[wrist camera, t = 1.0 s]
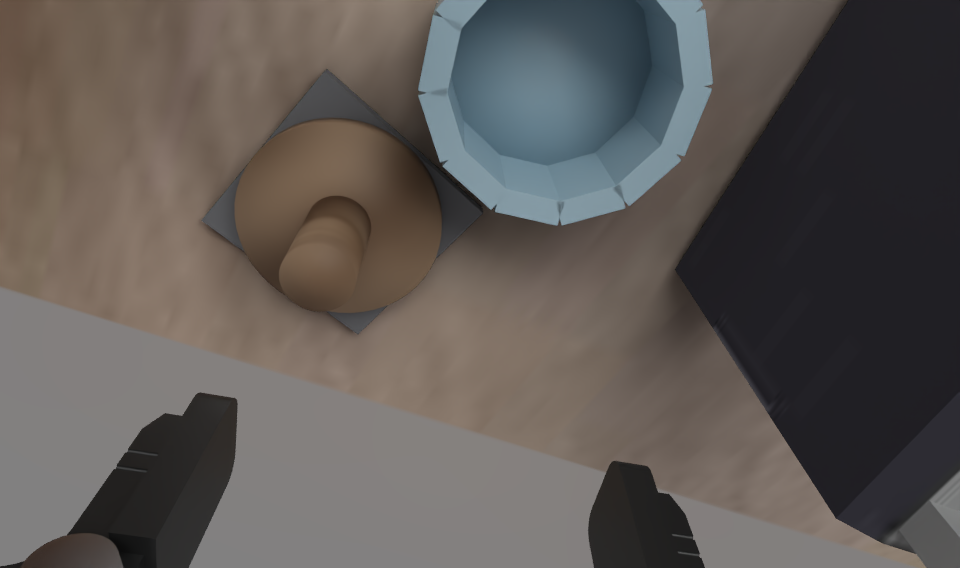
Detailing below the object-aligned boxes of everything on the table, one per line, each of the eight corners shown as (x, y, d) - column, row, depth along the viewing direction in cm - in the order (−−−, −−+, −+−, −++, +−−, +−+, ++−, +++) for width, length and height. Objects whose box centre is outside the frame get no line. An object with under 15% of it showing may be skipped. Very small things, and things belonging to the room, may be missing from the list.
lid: (201, 220, 29) (144, 284, 24) (324, 71, 26) (290, 106, 21) (357, 334, 32) (337, 412, 27) (483, 213, 29) (488, 274, 24)
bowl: (378, 67, 27) (362, 94, 22) (554, -139, 23) (577, -155, 19) (542, 220, 30) (557, 269, 26) (716, 60, 27) (766, 85, 23)
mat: (206, 215, 30) (201, 220, 29) (326, 68, 27) (324, 71, 26) (359, 327, 33) (357, 334, 32) (482, 208, 30) (482, 213, 29)
